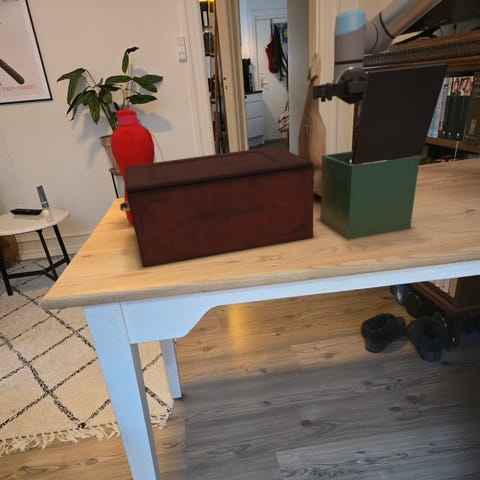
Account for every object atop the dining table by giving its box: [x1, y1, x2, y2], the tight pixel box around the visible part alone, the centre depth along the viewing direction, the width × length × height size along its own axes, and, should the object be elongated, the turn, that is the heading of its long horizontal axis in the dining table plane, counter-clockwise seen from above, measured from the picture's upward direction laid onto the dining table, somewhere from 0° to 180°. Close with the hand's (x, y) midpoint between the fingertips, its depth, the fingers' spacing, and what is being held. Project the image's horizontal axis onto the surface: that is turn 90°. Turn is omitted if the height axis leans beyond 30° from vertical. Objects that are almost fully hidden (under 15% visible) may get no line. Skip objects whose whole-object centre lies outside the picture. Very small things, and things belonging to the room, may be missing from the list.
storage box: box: [119, 146, 314, 268], centre depth 86 cm, size 39×23×15 cm, turn 104°
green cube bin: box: [320, 150, 421, 240], centre depth 84 cm, size 14×14×14 cm
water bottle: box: [109, 108, 165, 226], centre depth 96 cm, size 9×11×25 cm
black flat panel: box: [351, 62, 450, 165], centre depth 69 cm, size 15×14×1 cm
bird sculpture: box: [297, 52, 327, 198], centre depth 100 cm, size 11×12×32 cm
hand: (364, 89), depth 83 cm, fingers open, 13 cm apart
